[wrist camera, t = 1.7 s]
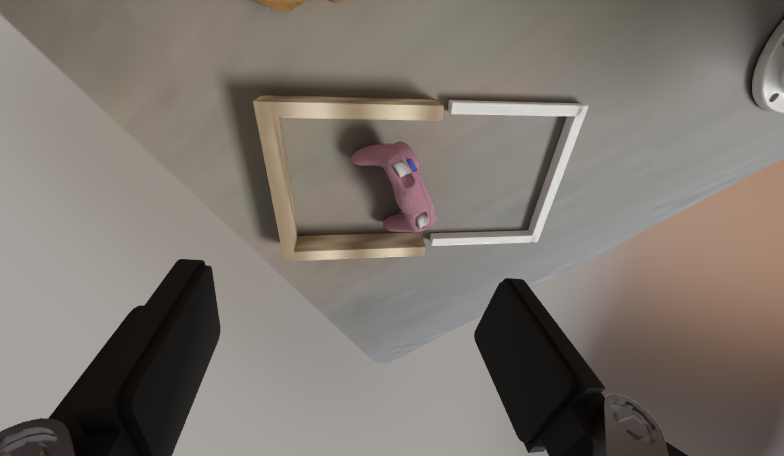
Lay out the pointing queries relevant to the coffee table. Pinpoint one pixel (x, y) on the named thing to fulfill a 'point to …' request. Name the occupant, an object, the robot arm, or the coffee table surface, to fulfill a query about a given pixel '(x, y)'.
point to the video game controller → (401, 185)
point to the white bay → (554, 175)
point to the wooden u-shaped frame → (279, 182)
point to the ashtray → (284, 4)
